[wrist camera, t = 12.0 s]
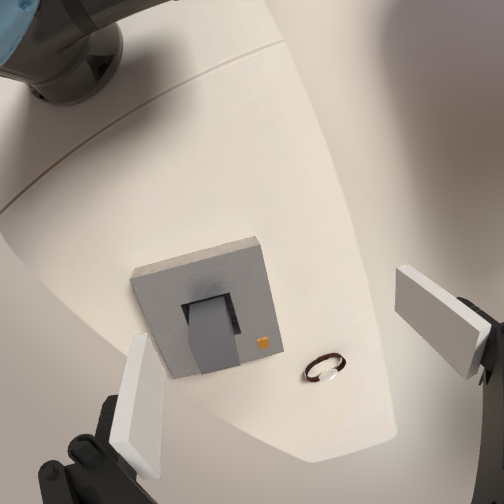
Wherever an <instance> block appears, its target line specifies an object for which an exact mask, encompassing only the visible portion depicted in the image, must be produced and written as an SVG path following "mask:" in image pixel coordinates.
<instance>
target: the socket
mask: <svg viewBox="0 0 504 504" xmlns="http://www.w3.org/2000/svg"><path fill="white" fill-rule="evenodd" d="M130 281H131V283H132V286H133V288H134V291H135V293H136V296H137V298H138V301H139V303H140V306H141V308H142V311H143V313H144V315H145V318H146V320H147V322H148V325H149V327H150V329H151V331H152V334H153V336H154V338H155V340H156V342H157V345H158V347H159V349H160V351H161V353H162V355H163V357H164V360H165V362H166V364H167V366H168V368H169V370H170V372H171V374H172V376H173V378H174V379H175V378H180V377H185V376H189V375H194V374H199V373H200V370H199V368H198V366H197V364H196V361H195V359H194V357H193V354H192V352H191V350H190V347H189V345H188V330H189V309H190V302H194V301H198V300H202V299H206V298H209V297H213V296H217V295H221V294H224V296H225V299H226V303H227V306H228V309H229V312H230V316H231V320H232V325H233V330H234V336H235V341H236V346H237V351H238V356H239V361H240V363H244V362H248V361H252V360H256V359H259V358H263V357H267V356H270V355H274V354H277V353H281V352H284V349H283V344H282V340H281V335H280V331H279V326H278V322H277V317H276V313H275V308H274V304H273V299H272V295H271V290H270V286H269V281H268V277H267V272H266V268H265V263H264V259H263V255H262V250H261V246H260V243H259V242H258V240H257V238H256V237H255V236H254V237H250V238H246V239H242V240H238V241H235V242H231V243H227V244H223V245H220V246H216V247H212V248H208V249H205V250H201V251H197V252H193V253H190V254H186V255H182V256H179V257H175V258H171V259H167V260H164V261H160V262H156V263H153V264H149V265H146V266H142V267H138V268H135V270H134V272H133V274H132V276H131V278H130Z"/></svg>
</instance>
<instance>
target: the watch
mask: <svg viewBox="0 0 504 504" xmlns="http://www.w3.org/2000/svg"><path fill="white" fill-rule="evenodd" d="M330 357H341V358H342V362H341V364H340V365H339V366H338V367H336V368H334V369H327V370H325V371H323V372H322V373H321V374H320V375H319V376H317V377H313V378H311V377H308V376H307V374H308V372H309V370H310V369H311V368H312V367H313V366H314V365H316V364H318V363H320V362H322V361H324V360H327V359H329V358H330ZM345 364H346V361H345V359H344V358H343V357H342V356H341V355H340V354H338V353H331V354H327V355H324V356H321V357H319V358H318V359H316V360H315V361H313V362H312V363H310V364H309V365H308V366H307V368H306V371H305V374H306V377H307V380H308V381H310V382H317V381H321V380H322V381H328V380H331V379H332V378H334V377H335V376H336V373H337V372H339V371H340V370H342V369H343V368H344V367H345Z"/></svg>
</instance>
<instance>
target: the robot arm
mask: <svg viewBox="0 0 504 504" xmlns="http://www.w3.org/2000/svg"><path fill="white" fill-rule="evenodd" d="M168 1H171V0H0V76H1V77H5V78H9V79H13V80H17V81H21V82H25V84H26V85H27V86H28V88H29V89H30V91H31V92H32V93H33V95H34V96H35V97H37V98H38V99H40V100H41V101H43V102H46V103H49V104H53V105H57V106H68V105H74V104H77V103H80V102H82V101H84V100H86V99H88V98H90V97H91V96H93V95H94V94H96V93H97V92H98V91H99V90H100V89H102V88H103V87H104V86H105V85H106V83H107V82H108V81H109V80H110V78H111V77H112V76H113V74H114V73H115V71H116V69H117V67H118V65H119V62H120V59H121V56H122V51H123V37H122V33H121V30H120V28H119V26H118V25H117V23H116V22H117V21H119V20H121V19H123V18H126V17H128V16H131V15H133V14H135V13H138V12H140V11H143V10H146V9H148V8H151V7H154V6H156V5H159V4H162V3H165V2H168ZM174 1H177V0H174ZM395 311H396V312H397V313H398V314H399V315H400V316H401V317H402V318H403V319H404V320H405V321H406V322H407V323H408V324H409V325H410V326H412V328H414V330H416V331H417V332H418V333H419V334H420V335H421V336H422V337H423V338H424V339H425V340H426V341H427V342H428V343H429V344H430V345H431V346H432V347H433V348H434V349H435V350H436V351H437V352H438V353H439V354H440V355H441V356H442V357H443V358H444V359H445V360H446V361H447V362H448V363H449V364H450V365H451V366H452V367H453V368H454V369H455V371H456V372H457V373H459V375H460V376H461V377H462V378H463V379H464V380H467V379H469V378H471V377H472V376H474V375H475V374H477V372H478V368H479V366H480V364H481V365H483V366H484V367H485V368H484V370H483V374H482V376H481V379H480V382H479V385H481V383H482V381H483V417H482V433H481V445H480V455H479V463H478V470H477V476H476V483H475V488H474V494H473V498H472V502H471V504H504V322H503V323H498V322H497V321H496V320H494V319H493V318H492V317H490V316H489V315H488V314H486V313H485V312H484V311H482V310H480V309H479V308H478V307H477V306H475V305H474V304H473V303H471V302H470V301H469V300H467V299H464V298H461V297H457V298H455V297H454V296H452V295H451V294H449V293H448V292H447V291H445V290H444V289H442V288H441V287H440V286H438V285H437V284H435V283H434V282H432V281H431V280H430V279H428V278H427V277H425V276H424V275H422V274H421V273H420V272H418V271H417V270H415V269H414V268H412V267H411V266H409V265H408V264H406V265H403V266H400V267H397V268H396V295H395ZM165 383H166V372H165V370H164V367H163V365H162V363H161V361H160V359H159V357H158V355H157V352H156V350H155V348H154V346H153V344H152V341H151V339H150V337H149V334H148V333H143V334H138V335H134V336H133V340H132V344H131V347H130V351H129V355H128V359H127V363H126V367H125V371H124V375H123V379H122V383H121V387H120V391H119V395H111V396H108V398H107V399H106V400H105V402H104V403H103V405H102V409H101V415H100V417H99V422H98V425H97V429H96V434H95V437H94V436H93V435H90V434H82V435H79V436H77V437H75V438H74V439H73V440H72V441H71V442H70V444H69V446H68V455H69V457H70V458H71V459H72V460H73V461H74V462H75V464H71V465H67V466H63V465H62V464H61V463H60V462H59V461H56V460H51V461H48V462H46V463H44V464H43V465H42V466H41V467H40V470H39V472H38V478H39V484H40V489H41V495H42V500H43V504H157V502H156V501H155V500H154V499H153V498H152V497H151V496H150V495H149V494H148V493H147V492H146V491H145V490H144V489H143V488H142V487H141V486H140V485H139V484H138V483H137V482H136V475H137V474H138V475H139V476H140V477H141V478H142V479H160V478H161V448H162V427H163V410H164V396H165Z"/></svg>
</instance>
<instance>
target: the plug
mask: <svg viewBox="0 0 504 504" xmlns="http://www.w3.org/2000/svg"><path fill="white" fill-rule="evenodd" d="M188 345H189V347H190V350H191V352H192V354H193V357H194V359H195V361H196V364H197V366H198V368H199V370H200V373H201V374H206V373H210V372H214V371H218V370H223V369H227V368H231V367H235V366H239V365H240V361H239V356H238V351H237V346H236V341H235V336H234V330H233V325H232V320H231V316H230V312H229V309H228V306H227V303H226V299H225V296H224V294H221V295H217V296H213V297H209V298H206V299H202V300H198V301H194V302H190V309H189V330H188Z"/></svg>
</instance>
